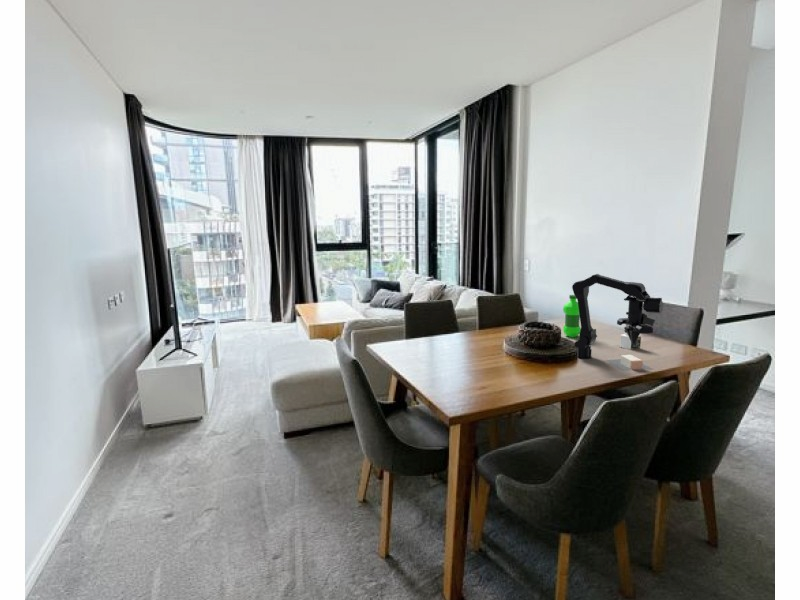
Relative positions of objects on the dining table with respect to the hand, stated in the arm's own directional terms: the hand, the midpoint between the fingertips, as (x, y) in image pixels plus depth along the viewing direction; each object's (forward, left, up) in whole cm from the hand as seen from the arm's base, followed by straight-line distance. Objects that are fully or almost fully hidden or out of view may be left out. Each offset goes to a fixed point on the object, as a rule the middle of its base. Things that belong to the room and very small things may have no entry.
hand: (633, 343), depth 191 cm
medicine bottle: (+17, +29, -12) cm, 36 cm away
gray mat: (0, +3, -12) cm, 12 cm away
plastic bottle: (-2, +57, -12) cm, 58 cm away
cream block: (0, +5, -9) cm, 10 cm away
